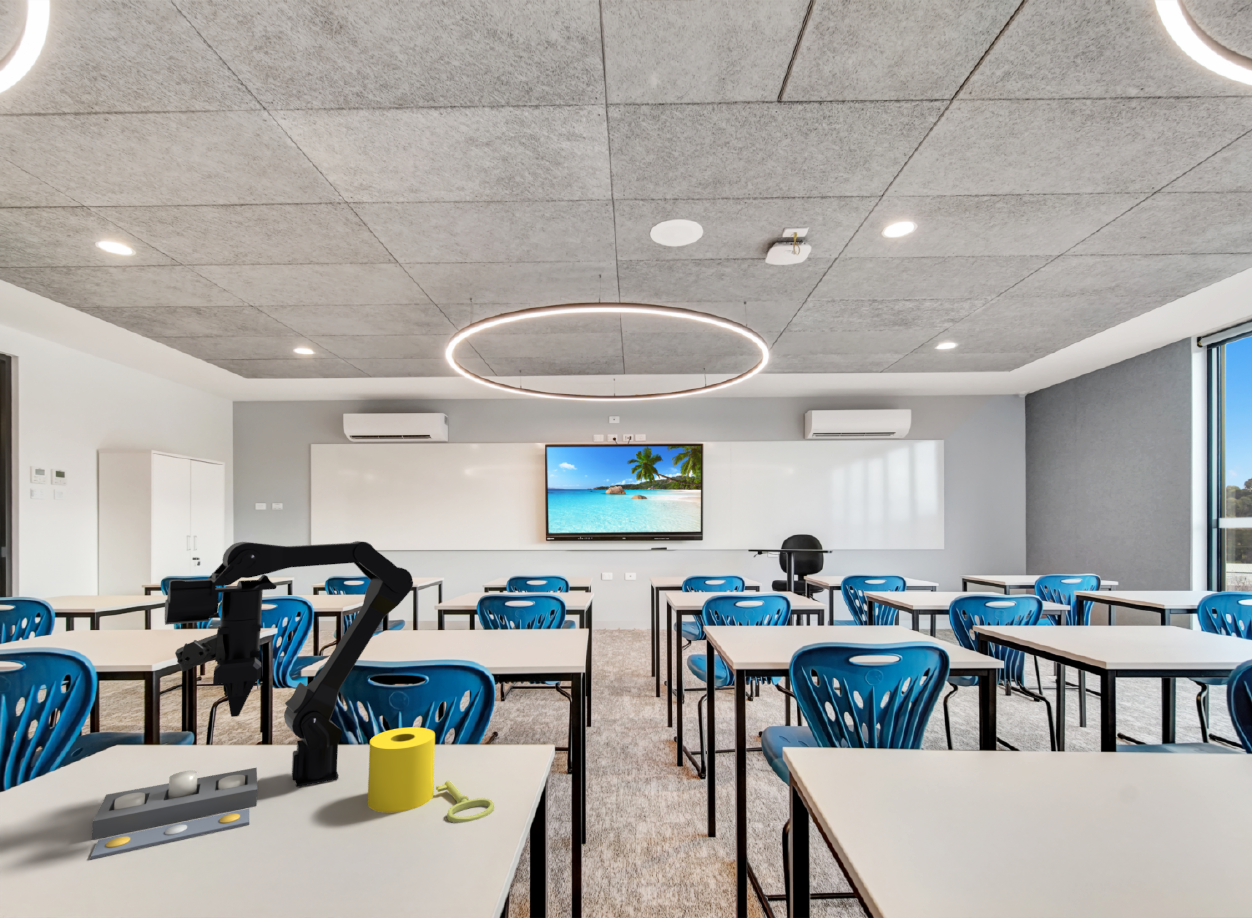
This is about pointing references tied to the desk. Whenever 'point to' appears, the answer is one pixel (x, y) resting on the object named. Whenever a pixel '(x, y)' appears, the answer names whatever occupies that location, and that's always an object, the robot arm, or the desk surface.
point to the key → (465, 804)
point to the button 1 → (129, 800)
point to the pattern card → (170, 833)
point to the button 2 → (231, 781)
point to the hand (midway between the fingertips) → (235, 715)
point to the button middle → (182, 784)
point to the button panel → (174, 805)
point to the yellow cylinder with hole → (401, 769)
